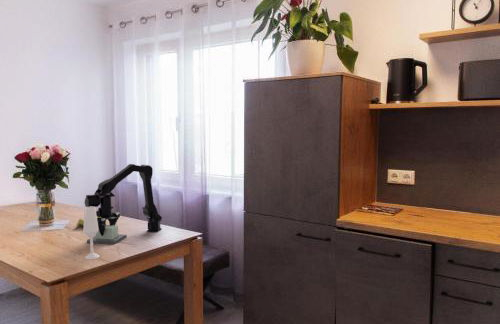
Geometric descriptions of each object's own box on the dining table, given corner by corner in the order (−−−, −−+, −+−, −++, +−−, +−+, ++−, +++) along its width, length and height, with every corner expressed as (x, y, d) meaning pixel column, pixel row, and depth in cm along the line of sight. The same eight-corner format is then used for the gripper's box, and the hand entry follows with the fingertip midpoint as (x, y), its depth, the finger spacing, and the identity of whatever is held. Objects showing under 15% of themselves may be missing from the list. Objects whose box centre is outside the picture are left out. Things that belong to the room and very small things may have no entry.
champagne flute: (97, 258, 182) (95, 208, 180) (82, 259, 181) (80, 209, 179) (101, 254, 189) (99, 205, 186) (87, 254, 188) (85, 206, 186)
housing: (118, 236, 214) (117, 225, 213) (112, 239, 208) (112, 228, 207) (102, 235, 216) (101, 224, 215) (95, 238, 210) (95, 227, 209)
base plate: (126, 237, 217) (126, 229, 216) (114, 244, 204) (113, 236, 204) (100, 235, 220) (100, 228, 219) (87, 242, 207) (86, 234, 207)
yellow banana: (91, 225, 235) (78, 217, 236) (88, 235, 237) (75, 227, 238) (111, 215, 253) (99, 208, 255) (108, 224, 255) (95, 217, 257)
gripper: (102, 201, 221) (103, 228, 222) (81, 208, 203) (83, 237, 204) (120, 202, 219) (121, 229, 220) (101, 209, 200) (102, 238, 202)
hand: (107, 233), depth 212 cm, fingers open, 9 cm apart
